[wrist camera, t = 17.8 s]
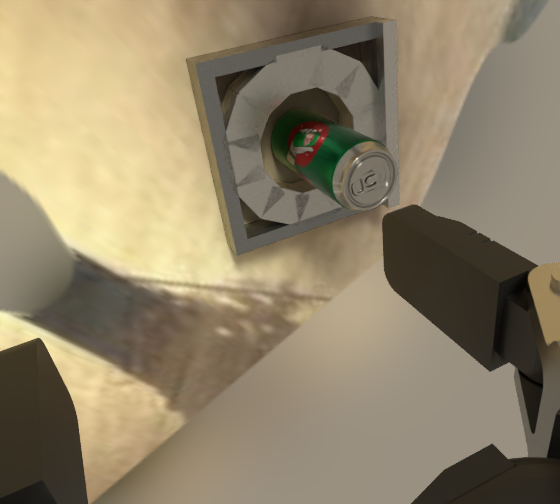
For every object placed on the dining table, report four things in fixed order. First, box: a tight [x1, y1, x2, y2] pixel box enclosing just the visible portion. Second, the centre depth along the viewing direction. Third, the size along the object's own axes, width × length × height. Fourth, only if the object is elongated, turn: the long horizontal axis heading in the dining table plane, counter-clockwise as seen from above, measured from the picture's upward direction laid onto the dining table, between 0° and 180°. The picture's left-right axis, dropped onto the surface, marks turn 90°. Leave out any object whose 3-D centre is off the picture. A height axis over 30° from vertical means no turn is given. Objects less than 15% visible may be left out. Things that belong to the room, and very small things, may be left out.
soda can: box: [271, 108, 398, 210], centre depth 39 cm, size 5×5×12 cm
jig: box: [186, 17, 399, 255], centre depth 43 cm, size 16×16×4 cm
